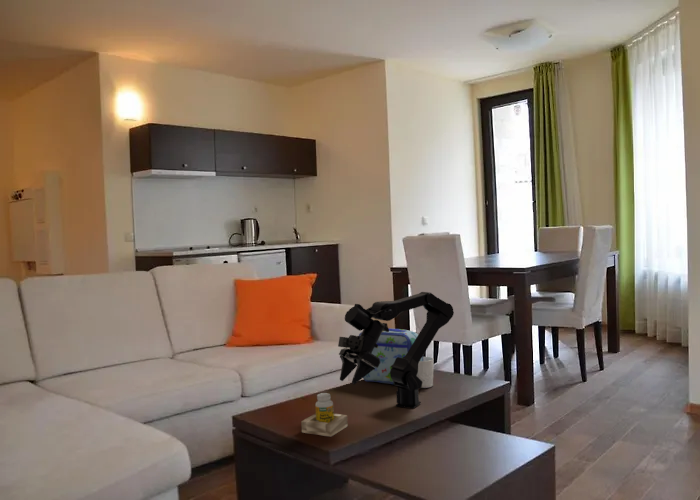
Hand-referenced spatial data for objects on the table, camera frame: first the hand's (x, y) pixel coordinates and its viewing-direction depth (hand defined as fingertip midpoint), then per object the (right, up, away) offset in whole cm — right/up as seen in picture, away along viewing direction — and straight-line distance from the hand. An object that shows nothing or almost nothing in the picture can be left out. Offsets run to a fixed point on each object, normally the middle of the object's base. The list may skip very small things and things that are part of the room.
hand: (346, 381), depth 189 cm
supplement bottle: (-6, -12, -7) cm, 15 cm away
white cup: (+28, -10, +37) cm, 47 cm away
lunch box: (+17, -10, +45) cm, 49 cm away
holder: (-7, -13, -7) cm, 16 cm away
